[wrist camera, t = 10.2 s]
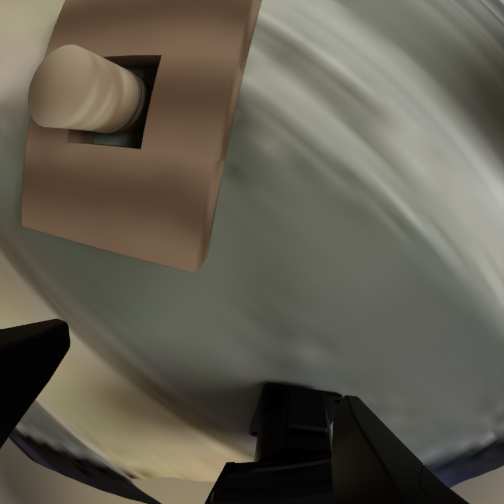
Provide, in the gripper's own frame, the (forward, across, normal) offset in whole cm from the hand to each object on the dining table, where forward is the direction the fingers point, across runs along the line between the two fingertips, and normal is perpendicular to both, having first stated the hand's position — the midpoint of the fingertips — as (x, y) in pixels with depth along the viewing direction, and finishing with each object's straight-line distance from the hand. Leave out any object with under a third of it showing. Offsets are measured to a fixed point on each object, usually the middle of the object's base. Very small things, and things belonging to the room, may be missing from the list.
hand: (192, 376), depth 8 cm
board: (+11, +9, -9) cm, 17 cm away
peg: (+12, +9, -9) cm, 17 cm away
